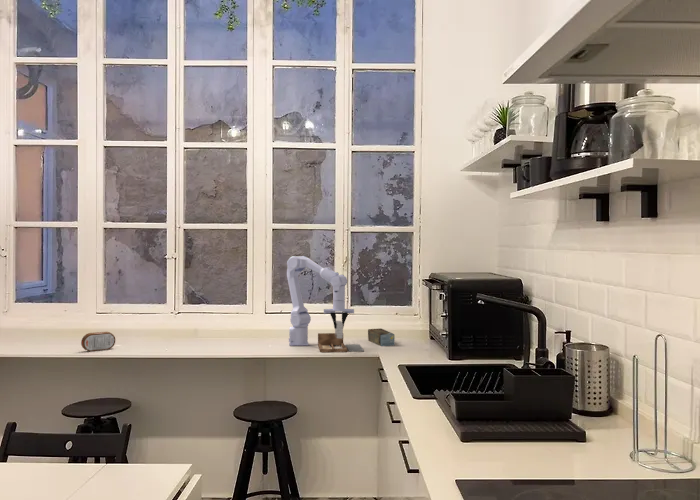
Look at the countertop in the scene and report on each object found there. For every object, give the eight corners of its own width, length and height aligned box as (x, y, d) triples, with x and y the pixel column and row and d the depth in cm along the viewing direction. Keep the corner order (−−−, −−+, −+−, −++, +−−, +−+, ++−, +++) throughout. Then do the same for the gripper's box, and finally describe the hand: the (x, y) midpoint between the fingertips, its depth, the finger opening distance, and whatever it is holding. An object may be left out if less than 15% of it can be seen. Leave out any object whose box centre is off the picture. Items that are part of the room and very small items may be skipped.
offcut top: (323, 351, 279) (323, 349, 279) (321, 346, 292) (321, 345, 292) (331, 351, 279) (331, 349, 279) (328, 346, 292) (328, 345, 292)
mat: (349, 351, 278) (349, 350, 278) (345, 345, 295) (345, 344, 295) (363, 351, 278) (363, 350, 278) (359, 345, 296) (359, 344, 296)
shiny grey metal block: (336, 338, 280) (336, 323, 280) (334, 335, 291) (335, 320, 291) (342, 338, 281) (342, 323, 281) (340, 335, 292) (340, 320, 292)
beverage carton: (380, 346, 294) (380, 333, 294) (367, 340, 312) (367, 328, 312) (395, 345, 296) (395, 332, 296) (381, 340, 314) (381, 327, 314)
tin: (113, 348, 284) (113, 330, 284) (116, 349, 282) (116, 331, 282) (80, 351, 274) (80, 333, 274) (83, 352, 272) (83, 334, 272)
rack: (320, 352, 276) (320, 339, 275) (317, 345, 295) (317, 333, 295) (347, 351, 277) (347, 339, 277) (343, 345, 296) (343, 333, 296)
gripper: (324, 300, 281) (324, 329, 281) (354, 300, 283) (354, 329, 283) (323, 299, 288) (323, 327, 288) (353, 299, 290) (353, 327, 290)
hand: (338, 328), depth 286 cm, fingers closed on shiny grey metal block, 3 cm apart
